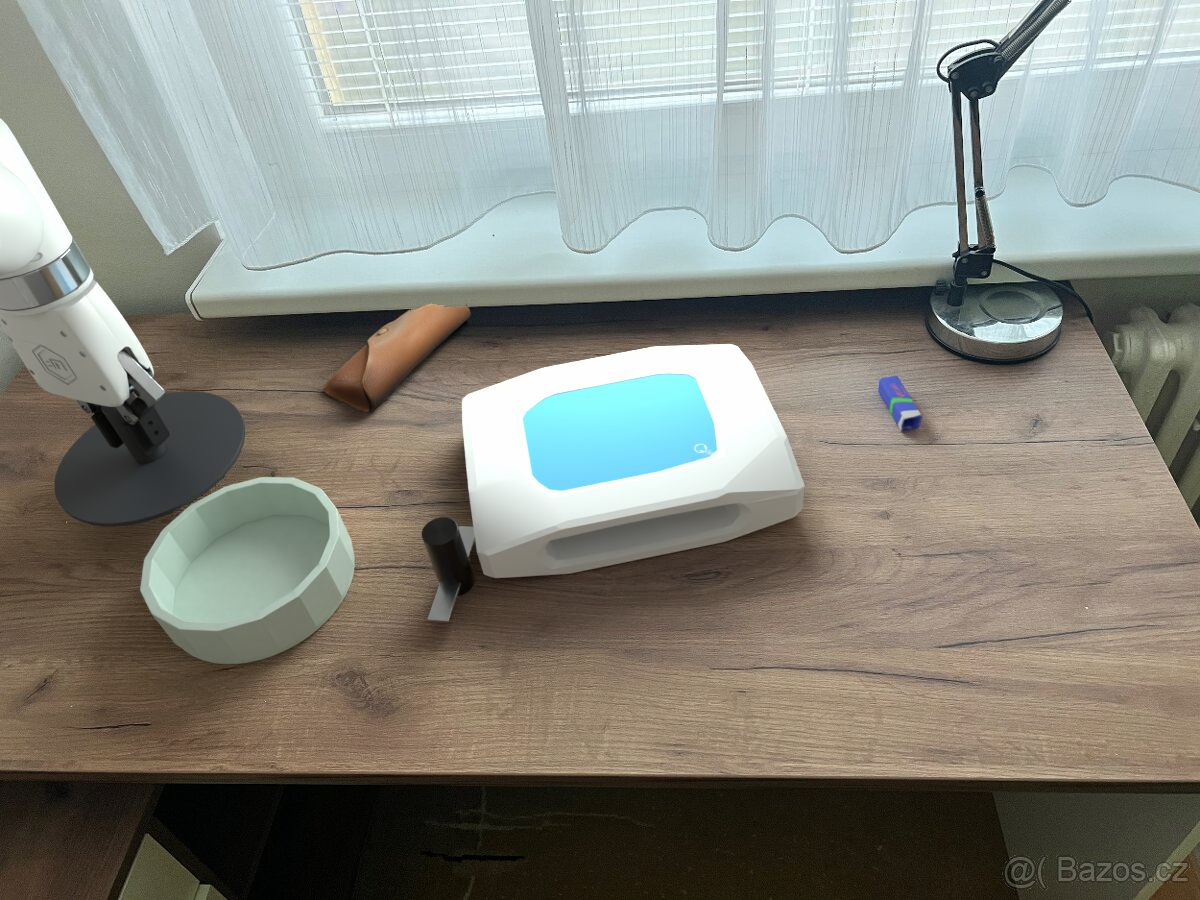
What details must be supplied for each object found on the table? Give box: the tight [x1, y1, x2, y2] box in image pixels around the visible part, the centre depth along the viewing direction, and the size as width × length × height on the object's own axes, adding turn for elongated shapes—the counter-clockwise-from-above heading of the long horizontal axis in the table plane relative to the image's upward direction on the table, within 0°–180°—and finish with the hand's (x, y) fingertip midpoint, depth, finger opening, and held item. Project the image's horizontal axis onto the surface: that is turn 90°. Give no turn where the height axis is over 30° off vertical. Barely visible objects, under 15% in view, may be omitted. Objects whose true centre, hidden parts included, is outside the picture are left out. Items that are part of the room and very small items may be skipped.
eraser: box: [877, 375, 923, 432], centre depth 85 cm, size 2×6×2 cm, turn 7°
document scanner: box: [461, 343, 806, 579], centre depth 81 cm, size 21×28×6 cm
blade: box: [421, 516, 476, 624], centre depth 73 cm, size 10×3×7 cm, turn 171°
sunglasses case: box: [322, 302, 471, 414], centre depth 98 cm, size 18×7×7 cm
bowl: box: [139, 476, 356, 665], centre depth 76 cm, size 17×17×5 cm
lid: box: [53, 390, 246, 528], centre depth 82 cm, size 18×18×8 cm
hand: (140, 440), depth 82 cm, fingers closed on lid, 3 cm apart
